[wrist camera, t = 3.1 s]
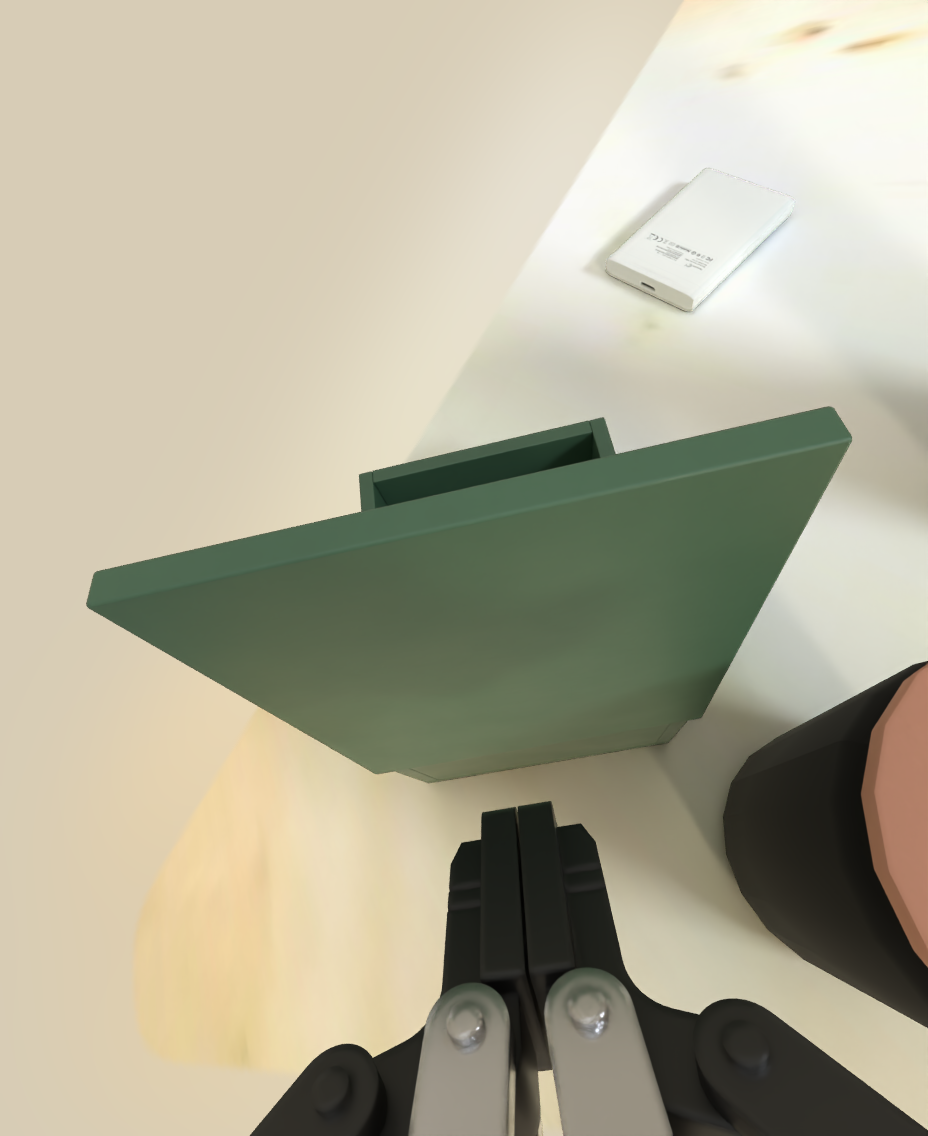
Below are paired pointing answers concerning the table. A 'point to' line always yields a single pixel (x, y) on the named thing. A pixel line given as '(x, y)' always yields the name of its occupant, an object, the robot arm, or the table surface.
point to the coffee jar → (844, 840)
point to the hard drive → (699, 238)
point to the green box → (486, 468)
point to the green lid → (498, 598)
